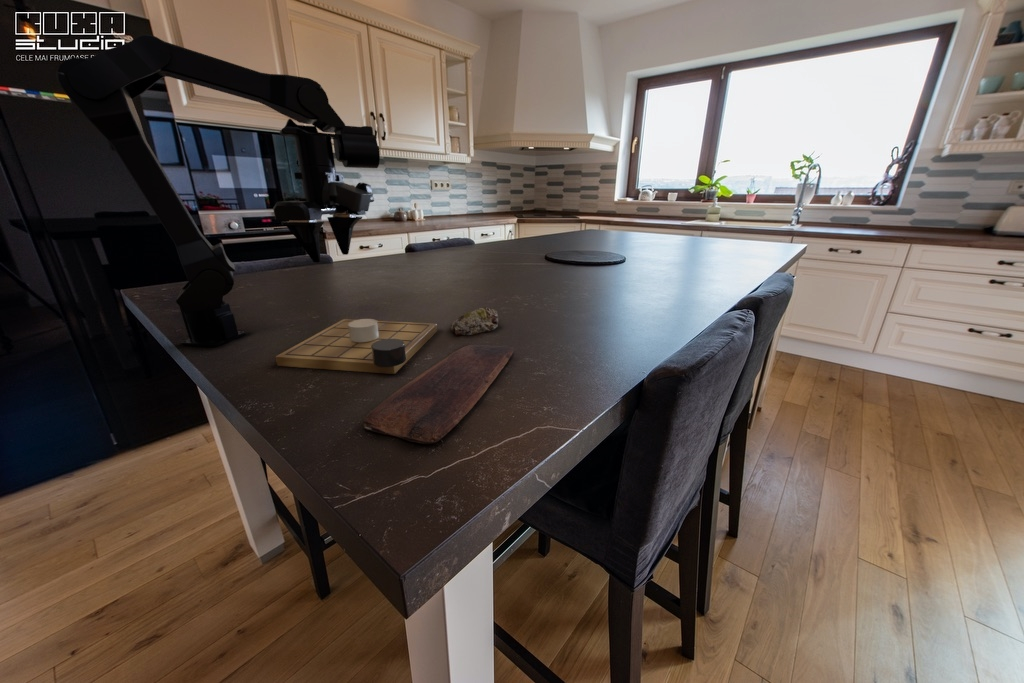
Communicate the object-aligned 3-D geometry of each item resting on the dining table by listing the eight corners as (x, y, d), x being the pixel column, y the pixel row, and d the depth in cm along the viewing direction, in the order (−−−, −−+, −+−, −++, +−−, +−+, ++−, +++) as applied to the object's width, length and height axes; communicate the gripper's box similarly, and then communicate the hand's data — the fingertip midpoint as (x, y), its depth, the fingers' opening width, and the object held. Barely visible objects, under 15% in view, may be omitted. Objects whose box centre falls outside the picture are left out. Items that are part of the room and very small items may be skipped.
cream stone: (344, 341, 62) (342, 326, 61) (359, 332, 66) (357, 318, 65) (371, 343, 61) (368, 328, 60) (383, 333, 65) (382, 319, 64)
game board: (277, 366, 57) (274, 355, 56) (344, 326, 74) (343, 318, 73) (394, 374, 54) (393, 363, 54) (437, 331, 71) (436, 323, 71)
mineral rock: (473, 305, 79) (504, 300, 74) (479, 326, 80) (510, 322, 75) (434, 320, 71) (466, 316, 66) (441, 343, 72) (472, 341, 67)
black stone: (367, 366, 53) (365, 349, 52) (382, 353, 57) (380, 337, 56) (398, 368, 53) (396, 351, 52) (411, 355, 57) (409, 339, 56)
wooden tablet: (465, 336, 64) (523, 336, 61) (467, 349, 65) (524, 350, 61) (352, 421, 41) (435, 429, 37) (357, 439, 42) (439, 449, 38)
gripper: (328, 162, 58) (344, 268, 64) (385, 169, 75) (394, 251, 81) (261, 163, 60) (282, 266, 65) (331, 169, 77) (344, 250, 83)
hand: (332, 258), depth 73 cm, fingers open, 9 cm apart
